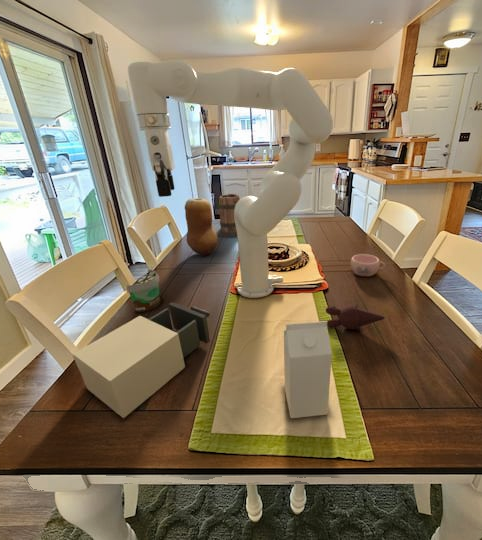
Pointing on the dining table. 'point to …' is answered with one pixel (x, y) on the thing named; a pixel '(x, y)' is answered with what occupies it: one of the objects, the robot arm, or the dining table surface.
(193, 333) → the drawer
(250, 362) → the dining table surface
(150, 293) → the food container
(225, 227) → the tankard
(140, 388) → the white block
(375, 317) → the icecream
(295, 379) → the milk carton
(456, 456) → the dining table surface
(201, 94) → the robot arm
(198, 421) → the dining table surface
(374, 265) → the mug
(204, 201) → the butternut squash
